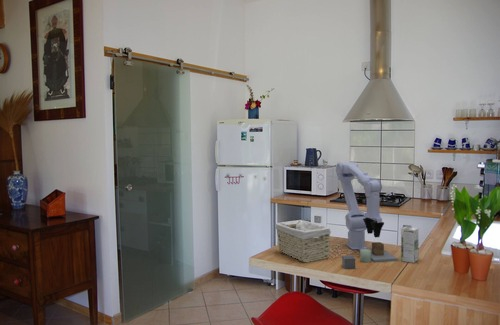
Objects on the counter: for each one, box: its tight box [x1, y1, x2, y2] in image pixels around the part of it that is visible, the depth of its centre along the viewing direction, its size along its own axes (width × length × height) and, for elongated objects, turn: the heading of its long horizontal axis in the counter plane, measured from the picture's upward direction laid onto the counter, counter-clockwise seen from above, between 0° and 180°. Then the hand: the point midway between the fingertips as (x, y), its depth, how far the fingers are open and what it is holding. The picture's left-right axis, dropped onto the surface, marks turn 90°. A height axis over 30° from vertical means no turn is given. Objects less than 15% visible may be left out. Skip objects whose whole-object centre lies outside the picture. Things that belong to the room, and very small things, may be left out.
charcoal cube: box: [341, 255, 356, 270], centre depth 167 cm, size 4×4×4 cm
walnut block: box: [371, 241, 385, 256], centre depth 181 cm, size 4×4×5 cm
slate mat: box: [358, 248, 399, 263], centre depth 182 cm, size 18×11×1 cm, turn 6°
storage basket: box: [275, 219, 332, 263], centre depth 187 cm, size 24×16×15 cm
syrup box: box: [400, 226, 420, 264], centre depth 173 cm, size 6×6×14 cm
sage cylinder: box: [359, 248, 372, 264], centre depth 174 cm, size 4×4×5 cm
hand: (373, 235), depth 183 cm, fingers open, 7 cm apart
